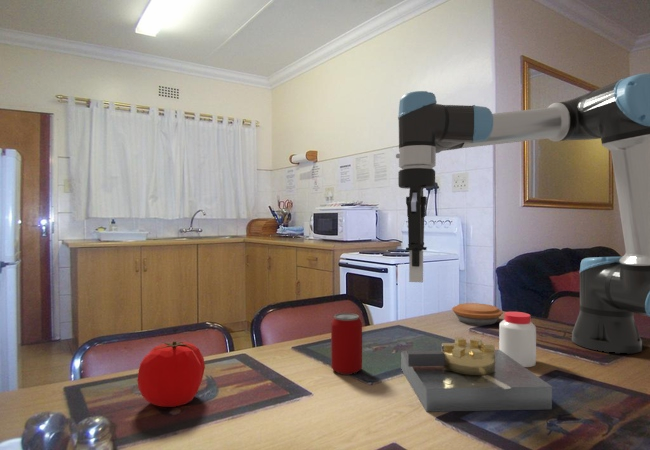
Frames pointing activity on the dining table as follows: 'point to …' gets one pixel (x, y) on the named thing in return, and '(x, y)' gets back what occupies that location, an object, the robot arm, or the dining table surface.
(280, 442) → the dining table surface
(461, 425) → the dining table surface
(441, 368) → the housing
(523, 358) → the pill bottle
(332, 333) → the beverage can
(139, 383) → the tomato
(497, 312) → the pie
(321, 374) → the dining table surface
